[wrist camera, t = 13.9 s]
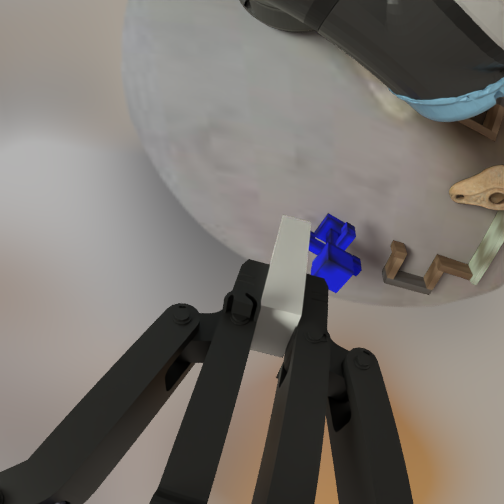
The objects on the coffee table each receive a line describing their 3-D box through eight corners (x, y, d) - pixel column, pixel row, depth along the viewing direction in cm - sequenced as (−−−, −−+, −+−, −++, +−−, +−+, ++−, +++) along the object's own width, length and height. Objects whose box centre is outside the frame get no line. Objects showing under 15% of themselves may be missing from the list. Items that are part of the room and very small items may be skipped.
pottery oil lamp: (442, 163, 38) (459, 181, 33) (504, 147, 34) (527, 163, 28) (450, 213, 42) (465, 237, 37) (508, 196, 38) (528, 217, 32)
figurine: (358, 244, 49) (364, 294, 40) (314, 251, 52) (310, 301, 42) (350, 203, 46) (357, 248, 36) (303, 212, 48) (296, 258, 39)
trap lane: (456, 73, 30) (467, 76, 27) (538, 125, 29) (552, 133, 26) (378, 270, 51) (380, 285, 48) (455, 292, 50) (460, 307, 47)
